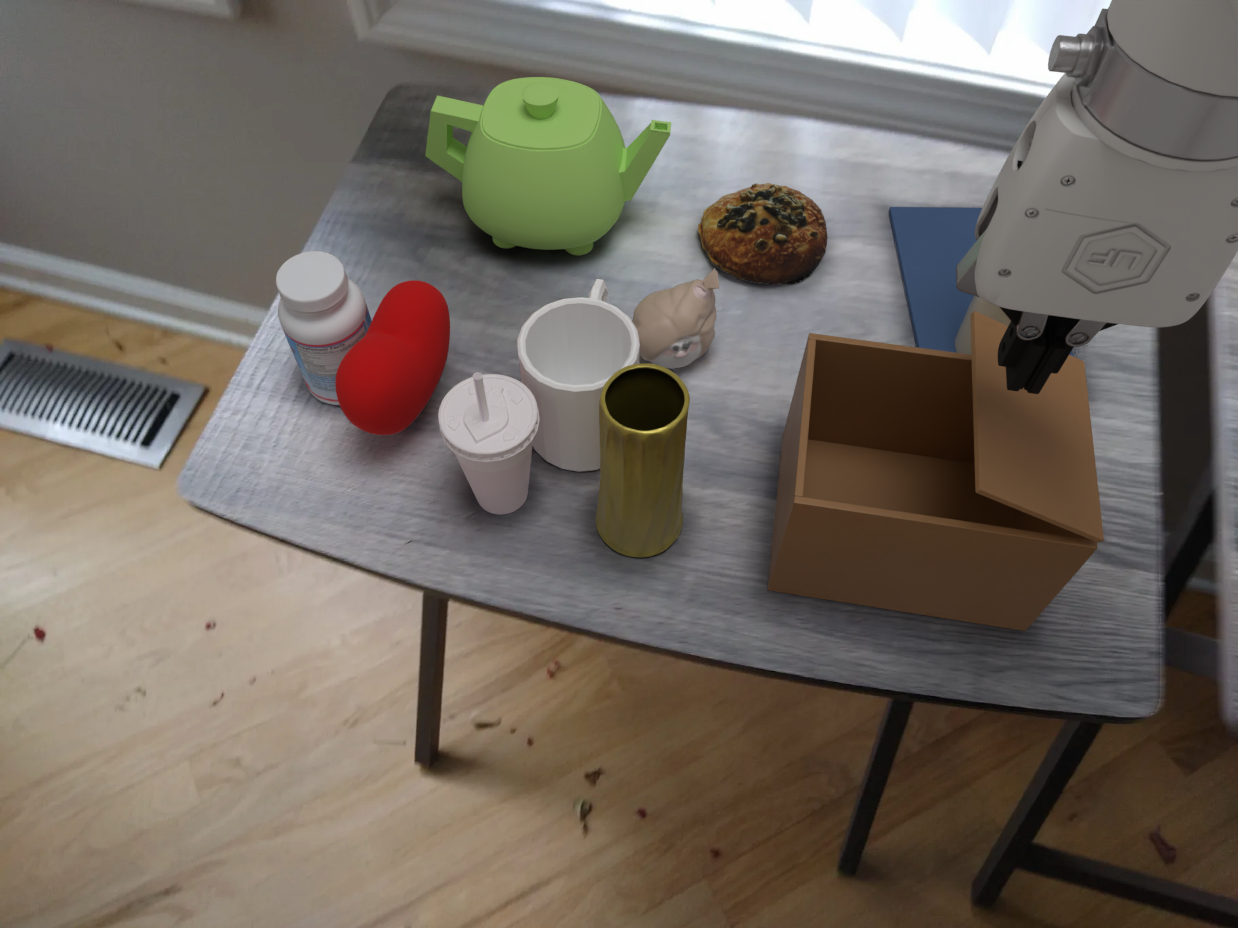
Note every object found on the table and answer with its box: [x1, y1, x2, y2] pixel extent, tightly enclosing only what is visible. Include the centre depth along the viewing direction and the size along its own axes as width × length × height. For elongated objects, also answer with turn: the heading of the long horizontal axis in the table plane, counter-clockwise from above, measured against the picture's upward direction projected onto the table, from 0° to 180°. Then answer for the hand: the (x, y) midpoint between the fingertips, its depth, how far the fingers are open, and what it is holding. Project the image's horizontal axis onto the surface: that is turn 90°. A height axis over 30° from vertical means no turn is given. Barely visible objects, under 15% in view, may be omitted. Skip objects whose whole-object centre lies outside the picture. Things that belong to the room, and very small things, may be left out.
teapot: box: [424, 76, 672, 256], centre depth 80 cm, size 20×13×13 cm
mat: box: [888, 206, 1075, 357], centre depth 80 cm, size 20×12×1 cm, turn 0°
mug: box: [516, 278, 641, 473], centre depth 70 cm, size 8×12×10 cm
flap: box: [970, 311, 1105, 544], centre depth 57 cm, size 8×13×1 cm, turn 170°
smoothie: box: [437, 371, 540, 516], centre depth 64 cm, size 6×6×14 cm
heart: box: [335, 279, 451, 436], centre depth 70 cm, size 12×5×10 cm, turn 160°
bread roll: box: [697, 182, 828, 286], centre depth 83 cm, size 11×11×5 cm
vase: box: [594, 362, 691, 558], centre depth 63 cm, size 6×6×14 cm
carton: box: [767, 332, 1099, 632], centre depth 64 cm, size 17×13×12 cm
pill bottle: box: [275, 250, 372, 406], centre depth 71 cm, size 6×6×11 cm
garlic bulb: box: [631, 268, 720, 369], centre depth 74 cm, size 7×6×8 cm
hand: (1020, 371), depth 54 cm, fingers closed
